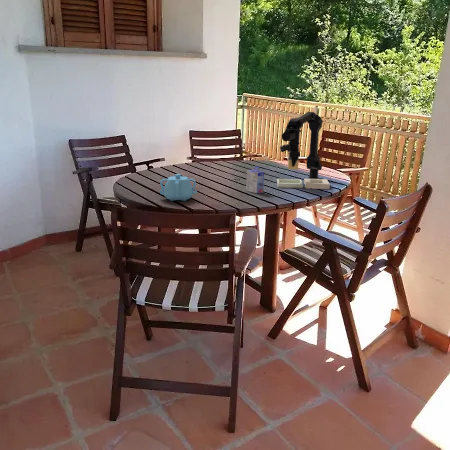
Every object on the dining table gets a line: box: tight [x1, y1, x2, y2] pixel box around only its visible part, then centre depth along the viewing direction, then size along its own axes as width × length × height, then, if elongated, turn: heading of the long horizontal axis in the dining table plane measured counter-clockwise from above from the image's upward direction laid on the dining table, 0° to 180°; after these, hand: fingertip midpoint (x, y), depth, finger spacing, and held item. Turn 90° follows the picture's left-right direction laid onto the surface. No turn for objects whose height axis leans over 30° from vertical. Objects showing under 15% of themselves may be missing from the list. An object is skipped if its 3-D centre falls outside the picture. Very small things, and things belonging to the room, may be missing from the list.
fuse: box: [287, 155, 300, 170], centre depth 273 cm, size 4×6×7 cm
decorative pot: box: [159, 173, 198, 202], centre depth 242 cm, size 16×16×14 cm
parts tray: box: [276, 178, 304, 189], centre depth 277 cm, size 14×15×2 cm
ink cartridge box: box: [245, 165, 265, 194], centre depth 259 cm, size 10×6×14 cm, turn 38°
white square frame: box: [303, 178, 331, 190], centre depth 276 cm, size 14×14×3 cm
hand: (292, 165), depth 274 cm, fingers closed on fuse, 4 cm apart
